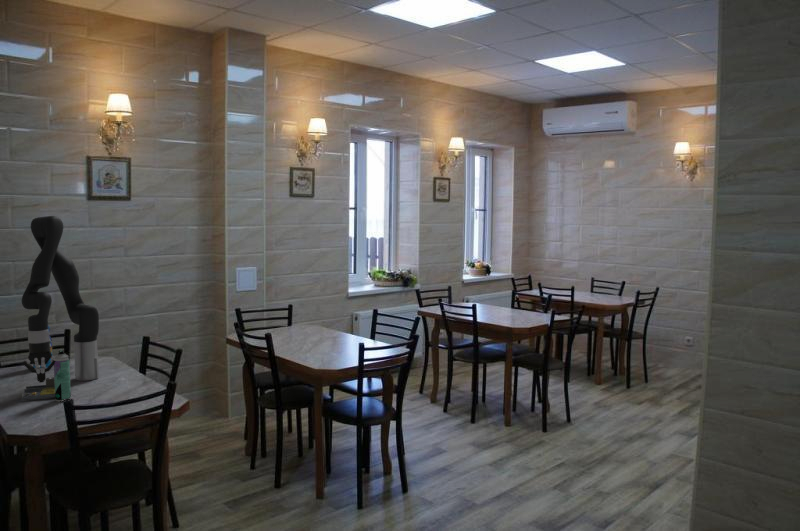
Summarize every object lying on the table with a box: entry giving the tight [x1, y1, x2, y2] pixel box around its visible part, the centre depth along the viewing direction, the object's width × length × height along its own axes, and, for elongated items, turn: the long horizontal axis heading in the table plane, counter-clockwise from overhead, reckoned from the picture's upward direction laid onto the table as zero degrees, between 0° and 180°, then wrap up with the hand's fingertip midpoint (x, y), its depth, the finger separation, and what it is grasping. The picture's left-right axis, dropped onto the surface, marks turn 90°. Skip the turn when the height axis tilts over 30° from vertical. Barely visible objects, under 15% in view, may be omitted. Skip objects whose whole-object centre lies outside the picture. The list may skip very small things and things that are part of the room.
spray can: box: [53, 349, 72, 403], centre depth 253 cm, size 6×6×20 cm
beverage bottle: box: [32, 325, 53, 369], centre depth 302 cm, size 8×8×20 cm
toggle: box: [45, 376, 55, 387], centre depth 263 cm, size 3×3×4 cm
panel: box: [21, 384, 55, 402], centre depth 259 cm, size 15×12×3 cm
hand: (41, 381), depth 261 cm, fingers closed
